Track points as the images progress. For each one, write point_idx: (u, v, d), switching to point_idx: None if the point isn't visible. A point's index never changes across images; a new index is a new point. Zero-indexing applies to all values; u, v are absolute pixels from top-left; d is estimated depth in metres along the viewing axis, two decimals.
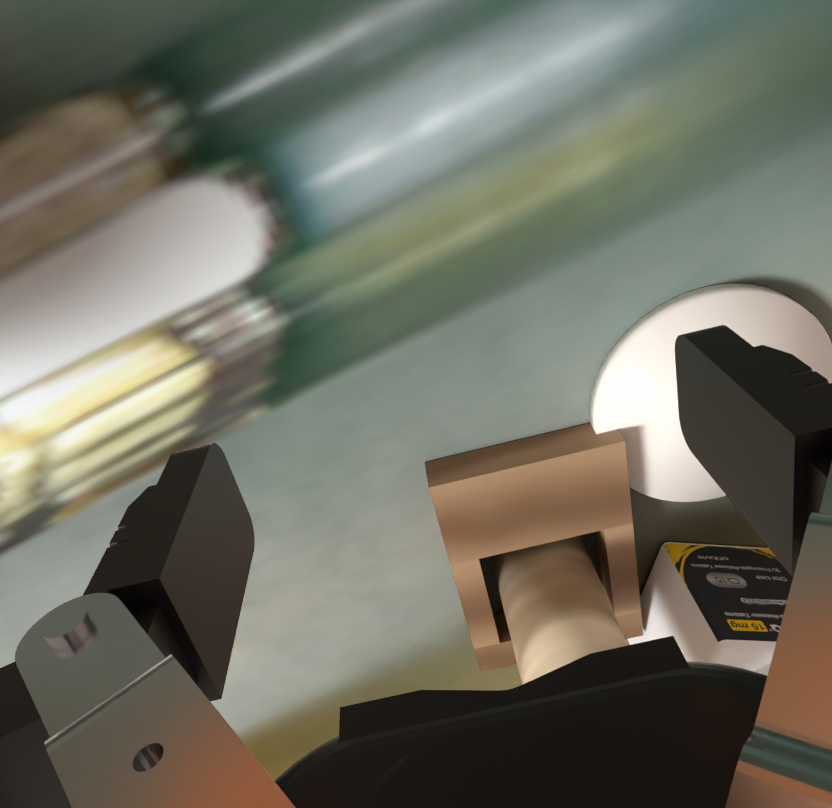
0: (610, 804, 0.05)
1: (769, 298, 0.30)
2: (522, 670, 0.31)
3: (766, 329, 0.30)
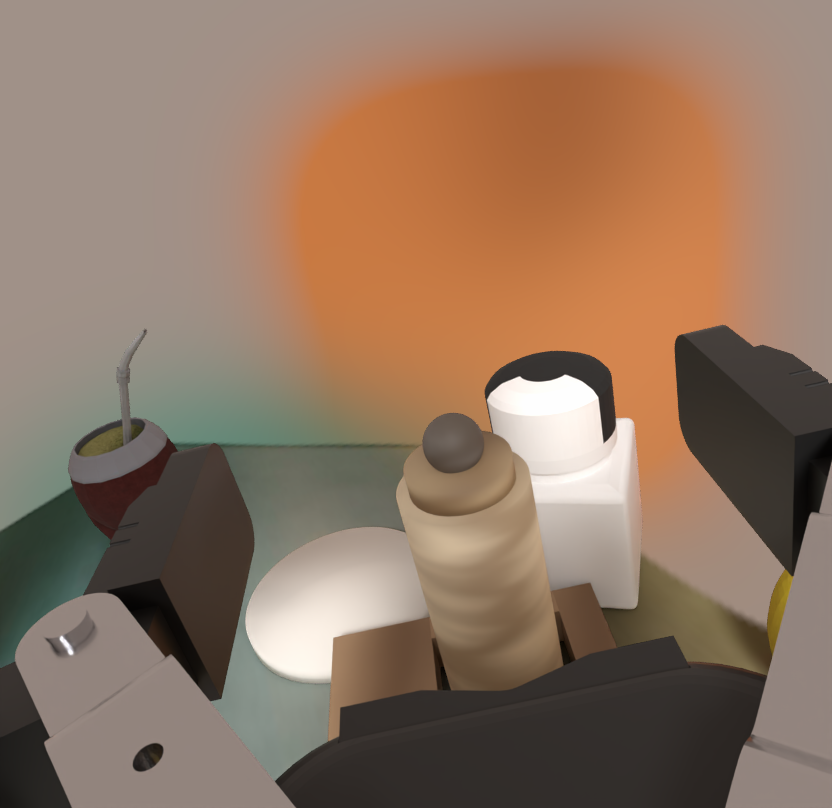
0: (610, 804, 0.05)
1: (264, 579, 0.42)
2: (475, 640, 0.27)
3: (287, 575, 0.42)
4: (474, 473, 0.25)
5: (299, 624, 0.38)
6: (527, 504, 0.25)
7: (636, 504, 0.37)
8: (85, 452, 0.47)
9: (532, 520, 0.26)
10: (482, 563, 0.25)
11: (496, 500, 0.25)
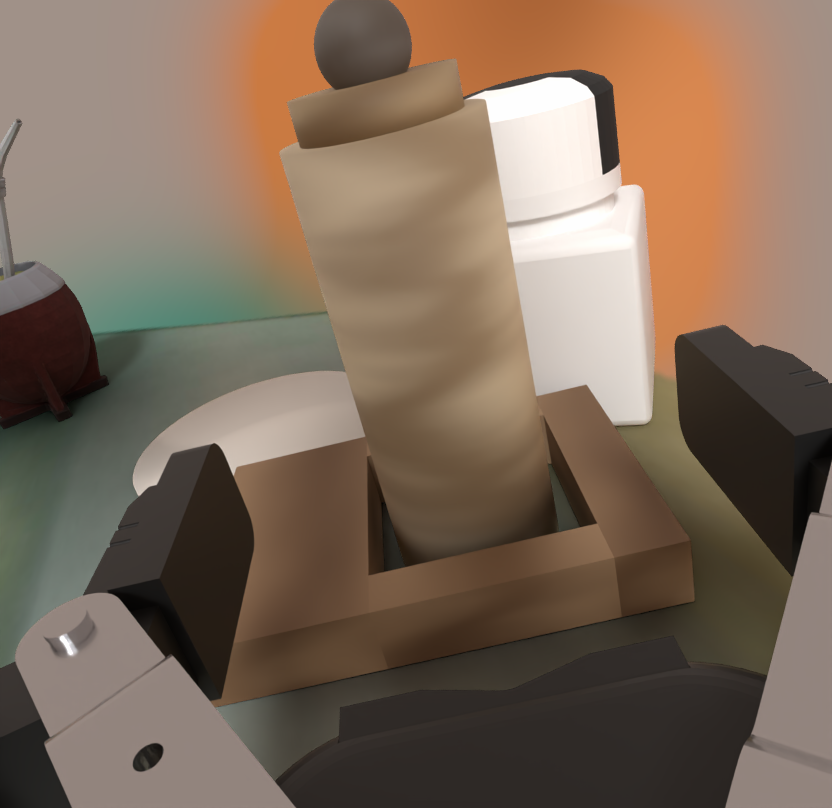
0: (610, 804, 0.05)
1: (167, 430, 0.33)
2: (406, 379, 0.17)
3: (197, 423, 0.32)
4: (393, 76, 0.15)
5: None
6: (480, 136, 0.16)
7: (648, 293, 0.27)
8: None
9: (491, 174, 0.16)
10: (408, 223, 0.15)
11: (428, 116, 0.15)
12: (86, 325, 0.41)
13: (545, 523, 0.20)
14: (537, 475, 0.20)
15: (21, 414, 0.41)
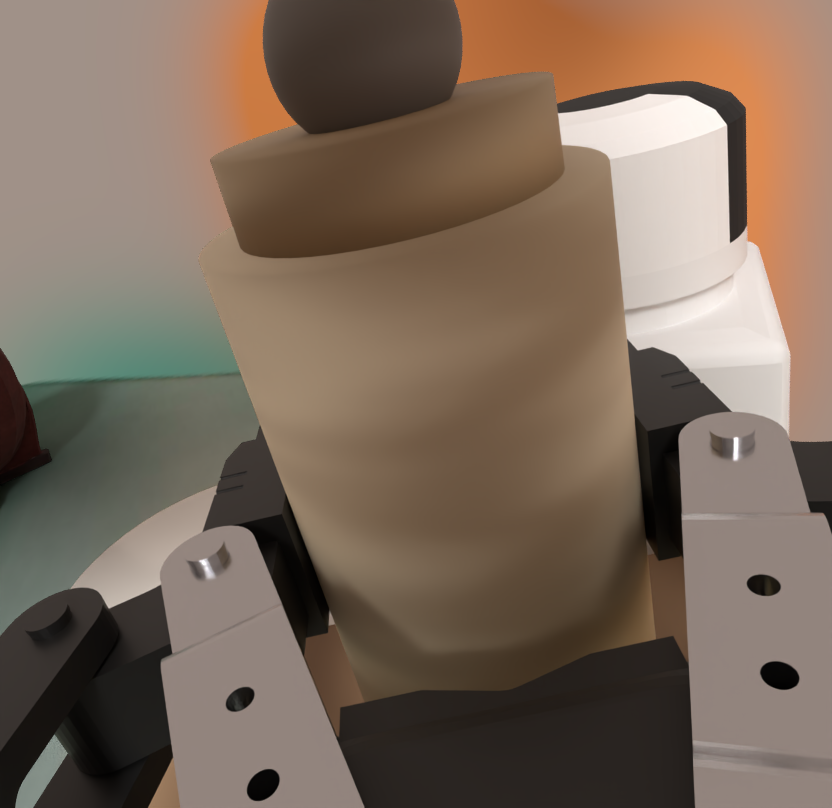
0: (610, 804, 0.05)
1: (103, 555, 0.25)
2: (444, 677, 0.09)
3: (143, 547, 0.24)
4: (427, 112, 0.07)
5: None
6: (603, 234, 0.08)
7: None
8: None
9: (619, 303, 0.08)
10: (457, 421, 0.07)
11: (504, 198, 0.07)
12: (20, 392, 0.33)
13: None
14: None
15: None
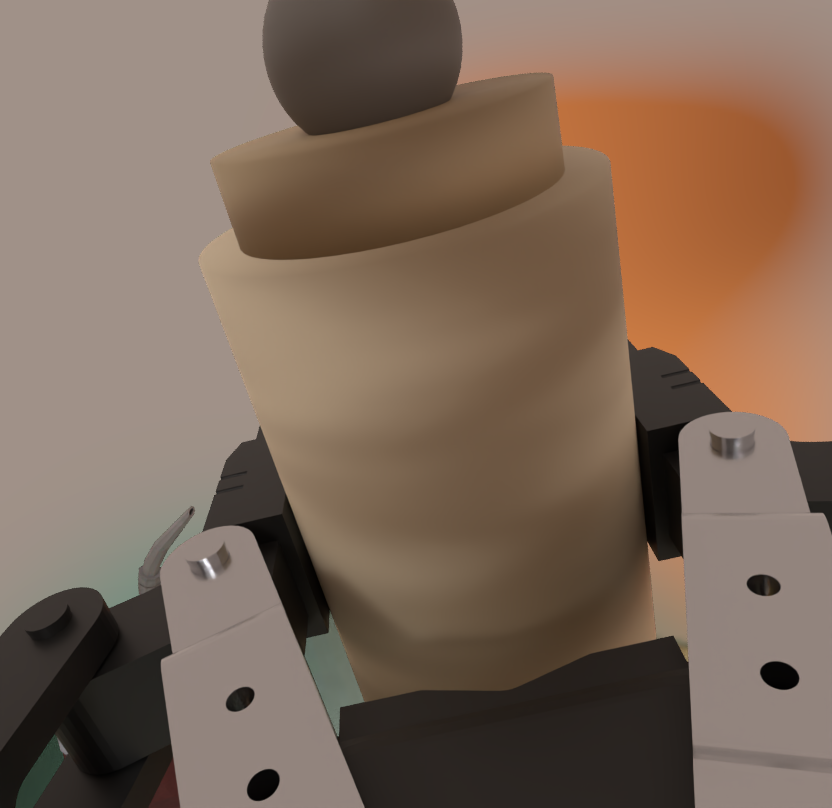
0: (610, 804, 0.05)
1: None
2: (445, 679, 0.09)
3: None
4: (427, 113, 0.07)
5: None
6: (604, 235, 0.08)
7: None
8: None
9: (618, 304, 0.08)
10: (458, 424, 0.07)
11: (504, 199, 0.07)
12: None
13: None
14: None
15: None
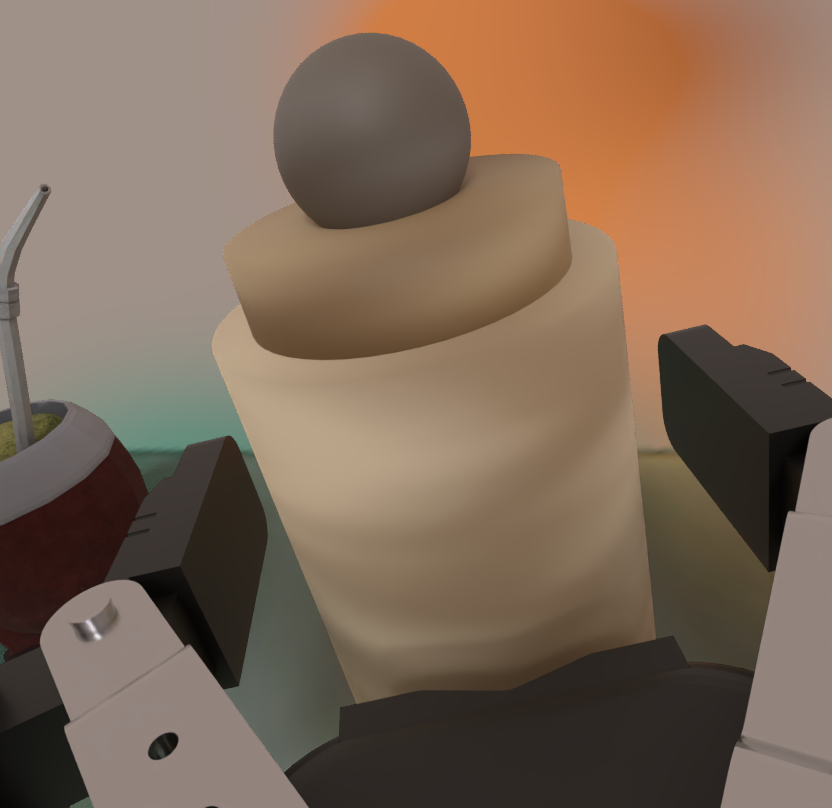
0: (610, 804, 0.05)
1: None
2: None
3: None
4: (437, 216, 0.07)
5: None
6: (612, 328, 0.08)
7: None
8: None
9: (624, 388, 0.08)
10: (470, 518, 0.07)
11: (514, 302, 0.07)
12: None
13: None
14: None
15: None
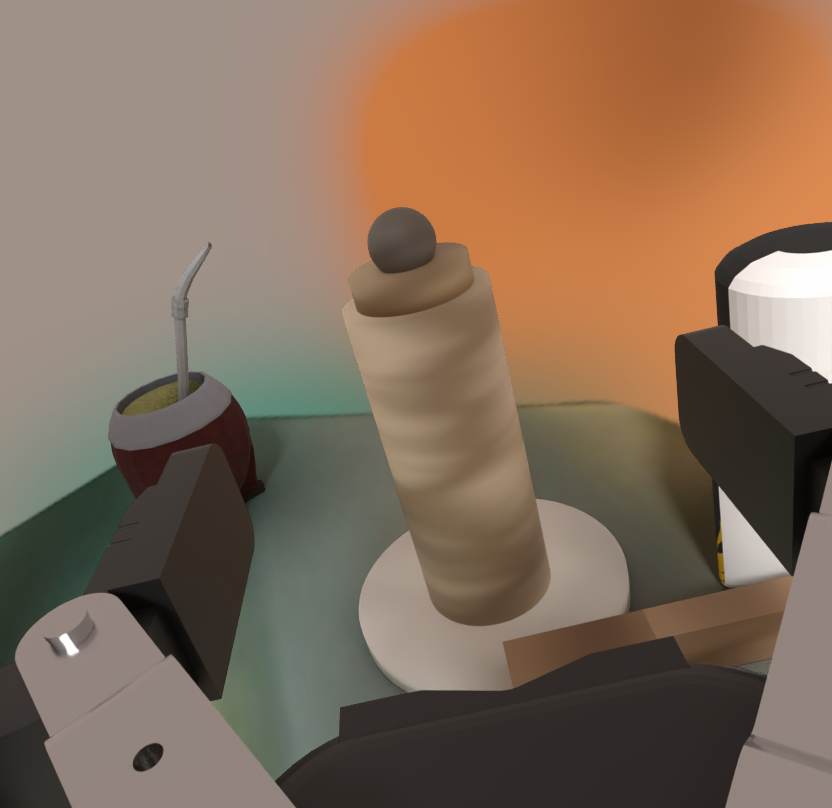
0: (610, 804, 0.05)
1: (375, 568, 0.31)
2: (434, 473, 0.24)
3: (407, 561, 0.31)
4: (424, 269, 0.22)
5: (439, 625, 0.27)
6: (485, 306, 0.22)
7: None
8: (129, 412, 0.37)
9: (494, 329, 0.23)
10: (436, 370, 0.22)
11: (449, 297, 0.22)
12: (249, 434, 0.40)
13: (539, 571, 0.27)
14: (532, 536, 0.26)
15: None
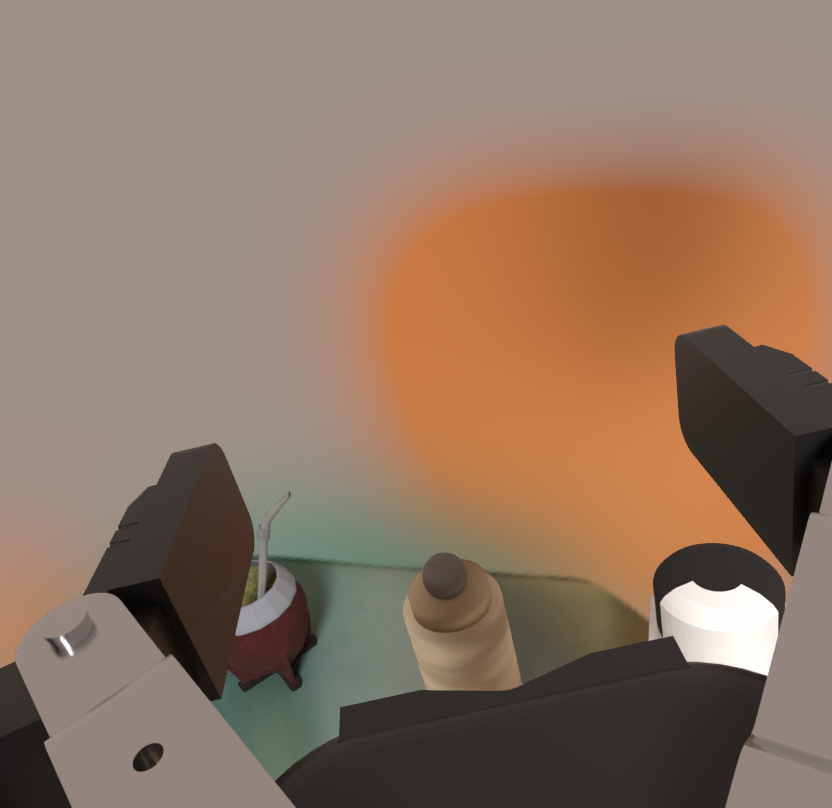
0: (610, 804, 0.05)
1: None
2: None
3: None
4: (460, 601, 0.34)
5: None
6: (499, 622, 0.34)
7: None
8: None
9: (504, 631, 0.35)
10: (466, 666, 0.34)
11: (476, 620, 0.33)
12: (307, 606, 0.52)
13: None
14: None
15: (257, 679, 0.51)
